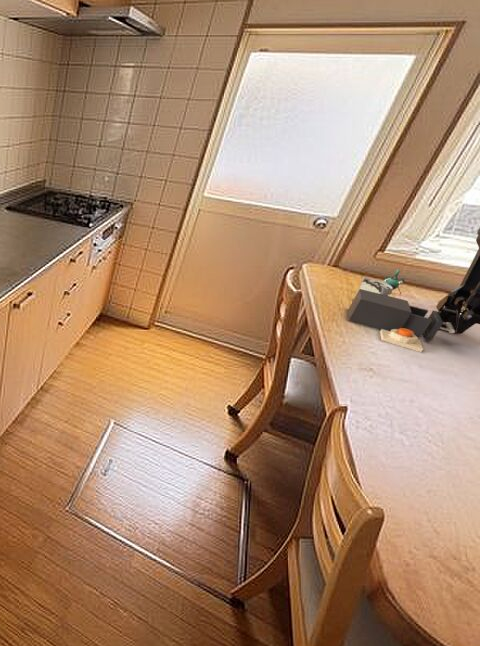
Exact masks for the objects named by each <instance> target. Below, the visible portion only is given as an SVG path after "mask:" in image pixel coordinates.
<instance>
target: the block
mask: <svg viewBox="0 0 480 646" xmlns="http://www.w3.org/2000/svg"><path fill="white" fill-rule="evenodd" d="M397 332H398V329H392V330H391V331H387V330H384V329H381V330H379V335H380V339H381V341H383V342H385V343H389V344H393V345H396V346H399V347H403V348H406V349H410V350H413V351H415V352H416V351H417V352H420V353H422V351H424V347H423V345H422V342H421V339H419V338H418V336H415V335H414V334H413V335H412V337H406V336H402V335H400V334H398V333H397Z"/></svg>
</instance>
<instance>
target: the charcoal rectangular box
mask: <svg viewBox="0 0 480 646" xmlns="http://www.w3.org/2000/svg"><path fill="white" fill-rule="evenodd" d="M358 290H359V291H358ZM358 290H357V292H358V293H357V292H356V294H357V295H356V294H355V295H354V298H353V300H352V302H351V304H350V305H349V307H348V309H347V319H348V320H347V321H348V322H351V323H354V324H358V325H361V326H364V327H368V328H372V329H375V330H378V331H381V329H384V330H387V331H391V330H392V329H398V330H399V329H400V328H402V327H403V325H404V324H405V322H406V321H407V319H408V318H409V316H410V314H411V313H412V312H411V309H410V306H411V305H410V303H409V300H405V299H402V298H397V297H394V296H390V295H388V296H386V295H382V294H378V293H374V292H370V291H366V290H362V289H359V288H358ZM409 305H410V306H409Z"/></svg>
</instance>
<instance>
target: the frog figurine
mask: <svg viewBox="0 0 480 646" xmlns="http://www.w3.org/2000/svg"><path fill="white" fill-rule="evenodd" d="M400 272H401V270H400V269H397V270H396V272H395V273H394V275H390V276H384V278H383V279H384V280H383V281H382V282H384V283H386V284H389V285H390V286H392V289H393V290H396V289H398V291H399V294H400V295H402V291H401V289H400V287H399V286H401V285H403V283H405V279H404V278H400V280H399V277H398V276H399V274H400ZM393 290H392V291H393ZM387 296H389V295H387Z"/></svg>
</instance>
